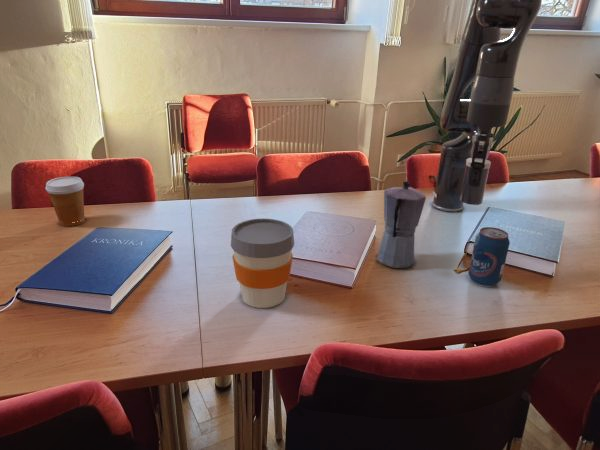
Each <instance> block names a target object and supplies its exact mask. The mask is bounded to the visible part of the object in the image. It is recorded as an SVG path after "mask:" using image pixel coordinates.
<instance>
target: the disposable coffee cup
mask: <svg viewBox="0 0 600 450" xmlns="http://www.w3.org/2000/svg"><path fill="white" fill-rule="evenodd" d="M84 187H85V182H84V181H83V179H82V178H81V177H78V176H61V177H56V178H52V179H50V180H48V181H47V182H46V183H45V187H44V189H45V191H46V192H47V193H48V195H49V198H50V201H51V204H52V207H53V210H54V212H55V215H56V217H57V220H58V222H59V221H60V222H59V225H60V226H62V227H75V226H79V225H81V224H83V223H85V220H86V219H85V203H84V202H85V200H84V197H85V196H84ZM83 218H84V219H83ZM82 219H83V220H82ZM80 220H81V221H80ZM77 221H78V222H77ZM61 222H62V223H61ZM72 222H75V223H72Z"/></svg>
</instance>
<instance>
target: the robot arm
mask: <svg viewBox="0 0 600 450" xmlns="http://www.w3.org/2000/svg"><path fill="white" fill-rule="evenodd" d="M541 7H542V0H471V4H470V8H469V12H468V15H467V18H466V22H465V26H464V29H463V33H462V36H461V39H460V40H461V41H460V44H459V48H458V53H457V57H456V62H455V66H454V71H453V75H452V78H451V81H450V84H449V87H448V91H447V93H446V96H445V98H444V103H443V106H442V109H441V113H440V120H439V124H440V128H441V130H442V131H444V132H449V133H461V134H460V135H459V136H458V137H456V138H454V139H450V140H448V141H445V142H444V143H442V145H441V147H440V149H441V150H440V155H439V161H438V169H437V175H436V176H435V175H434V174H433V176H431V174H429V176H428V177H429V178H433V180H434V183H435V187H434V188H435V189H434V190H433V192H432V196H433V199H432V200H433V201H432V207H433V208H435V209H437V210H439V211H443V212H453V213H454V212H460V211H462V210H464V203H463V202H461V201H460V196H461V191H462V185H463V180H464V174H465V169H466V160H467V159H468V158H472V163H471V164H470V166H471V172H470V178H469V183H468V184H469V186H474V187H479V185H480V181H481V176H482V171H483V169H484V168H485V165H484V164H485V159H486V160H488V158H489V157H490V151H491V147H492V145H493V143H494V139H495V133H493V132H492V129H493V128H502V127H505V126H506V125H507V124H508V123H507V122H508V118H509V113H510V109H511V104H512V100H513V99H512V98H513V94H514V87H515V77H516V72H517V68H518V62H519V59H520V54H521V52H522V48H523V46H524V43H525V41H526V38H527V36H528V34H529V32H530V30H531V28H532V26H533V25H534V23H535V21H536V18H537V17H538V14H539V12H540V10H541ZM501 29H509V30H510V29H512V30H513V31H512V33H511V34H510V36H509V37H507V38H505V39H503V40H501V36H502V30H501ZM471 84H472V87H471V92H470V99H462V98H463V96H464V93H466V90H467V89H468V88H469V86H470V85H471ZM475 158H481V159H483V161H482V163H481V162H474V161H475Z"/></svg>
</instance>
